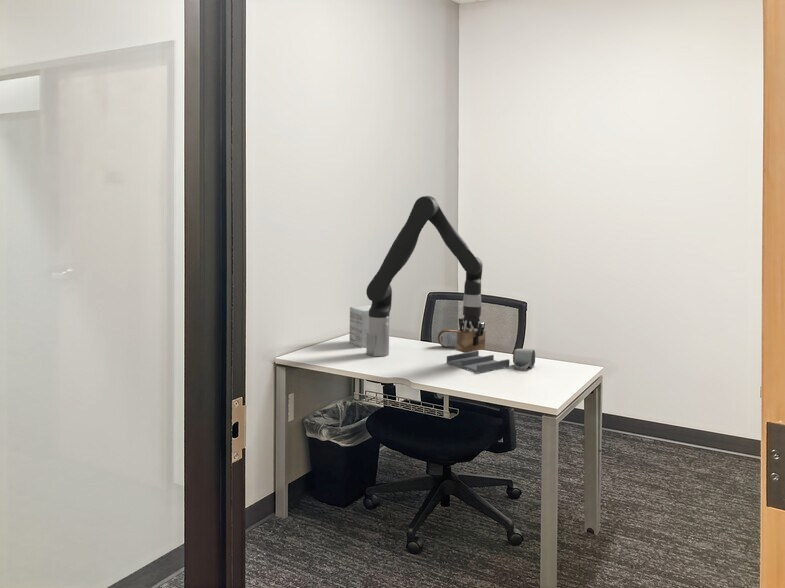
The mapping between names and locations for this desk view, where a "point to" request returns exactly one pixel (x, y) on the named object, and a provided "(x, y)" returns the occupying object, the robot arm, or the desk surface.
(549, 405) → the desk surface
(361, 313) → the supplement box
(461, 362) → the rack
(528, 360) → the ceramic mug
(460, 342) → the wooden toy brick
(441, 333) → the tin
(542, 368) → the desk surface
